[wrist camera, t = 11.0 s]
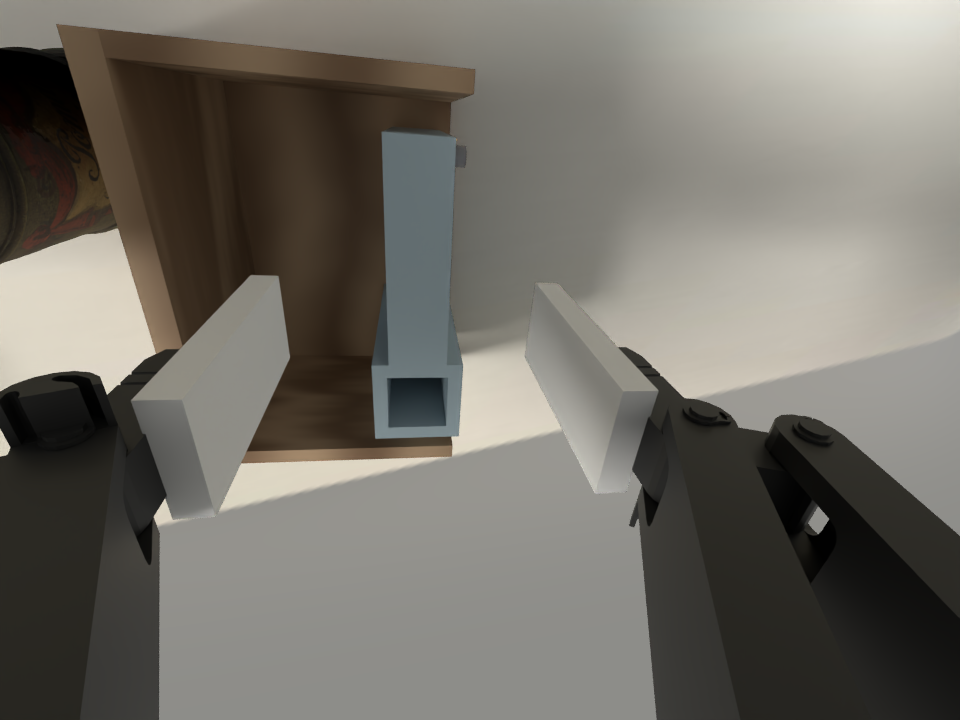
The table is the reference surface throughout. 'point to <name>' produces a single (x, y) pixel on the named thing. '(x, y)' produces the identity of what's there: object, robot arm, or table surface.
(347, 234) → the cabinet
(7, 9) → the table surface
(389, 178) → the door
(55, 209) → the container
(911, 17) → the table surface
